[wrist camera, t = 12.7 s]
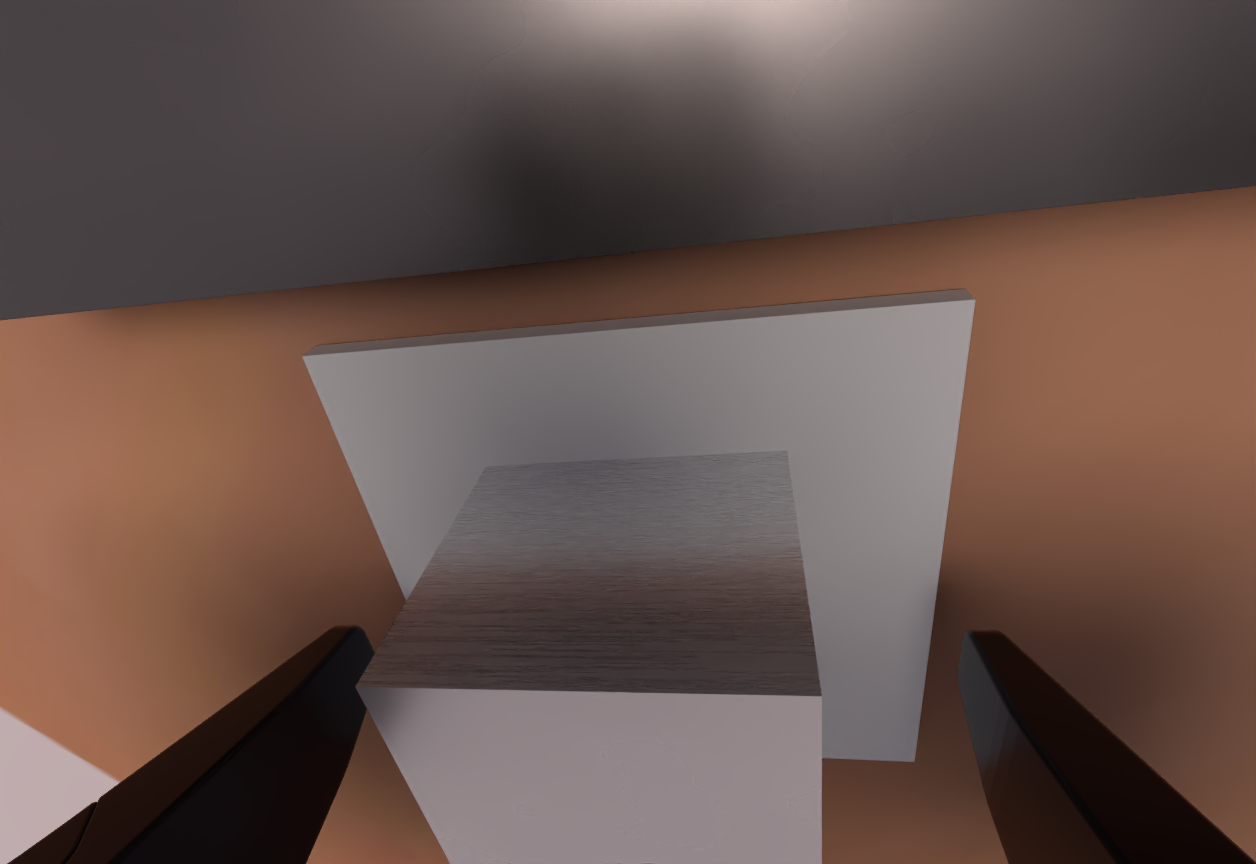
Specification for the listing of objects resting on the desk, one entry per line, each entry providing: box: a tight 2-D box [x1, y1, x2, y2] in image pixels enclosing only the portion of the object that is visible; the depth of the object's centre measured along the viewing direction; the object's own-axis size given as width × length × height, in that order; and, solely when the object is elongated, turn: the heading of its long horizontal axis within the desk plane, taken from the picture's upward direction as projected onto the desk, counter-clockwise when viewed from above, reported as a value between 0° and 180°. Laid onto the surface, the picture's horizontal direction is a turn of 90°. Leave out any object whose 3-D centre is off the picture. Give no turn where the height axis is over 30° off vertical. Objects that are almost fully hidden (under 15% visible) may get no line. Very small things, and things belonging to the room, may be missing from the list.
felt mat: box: [302, 289, 975, 762], centre depth 11 cm, size 9×9×1 cm
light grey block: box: [355, 451, 822, 864], centre depth 9 cm, size 4×5×4 cm
